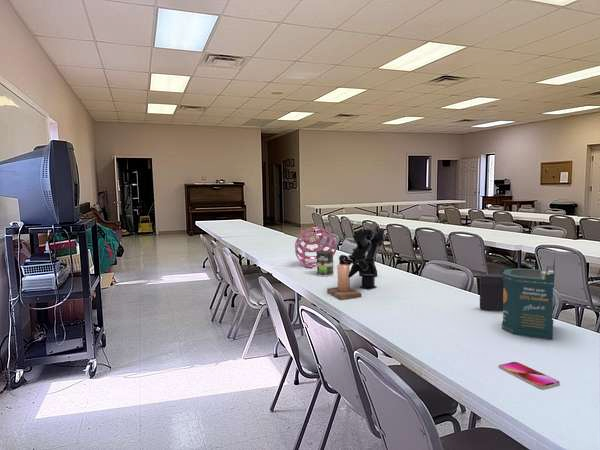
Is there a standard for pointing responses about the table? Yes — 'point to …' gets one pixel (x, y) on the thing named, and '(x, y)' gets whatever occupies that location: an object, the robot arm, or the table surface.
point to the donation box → (529, 302)
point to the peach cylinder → (343, 277)
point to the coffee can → (325, 263)
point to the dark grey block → (491, 292)
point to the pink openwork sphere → (317, 241)
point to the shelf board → (344, 293)
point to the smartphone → (529, 375)
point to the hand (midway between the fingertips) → (343, 275)
